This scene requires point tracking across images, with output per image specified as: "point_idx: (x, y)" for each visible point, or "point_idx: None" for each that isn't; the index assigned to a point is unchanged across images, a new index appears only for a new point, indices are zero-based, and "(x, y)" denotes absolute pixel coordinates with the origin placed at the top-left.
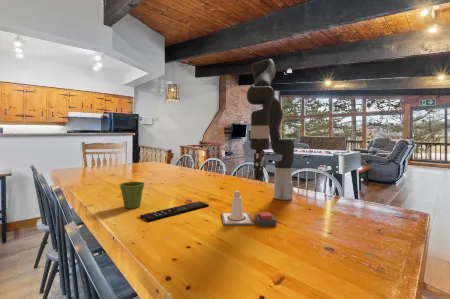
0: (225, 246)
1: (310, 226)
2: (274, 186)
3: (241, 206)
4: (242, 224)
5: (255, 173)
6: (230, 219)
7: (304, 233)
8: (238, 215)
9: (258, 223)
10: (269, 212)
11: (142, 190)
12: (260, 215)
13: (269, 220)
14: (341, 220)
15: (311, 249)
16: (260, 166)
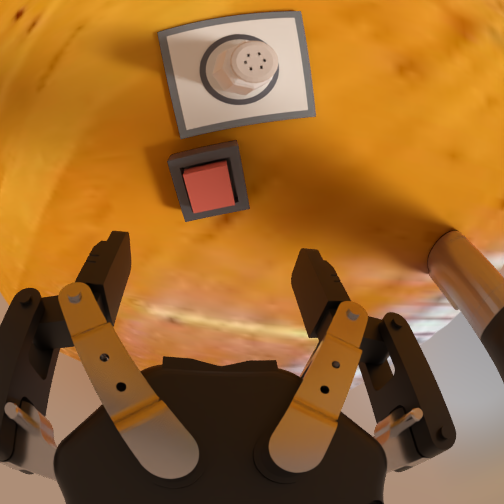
0: (24, 91)
1: (206, 294)
2: (475, 252)
3: (233, 88)
4: (171, 97)
5: (96, 264)
6: (212, 47)
7: (151, 276)
8: (215, 77)
9: (172, 156)
10: (229, 205)
11: None
12: (201, 169)
13: (178, 198)
14: (259, 348)
15: (74, 275)
16: (48, 353)
